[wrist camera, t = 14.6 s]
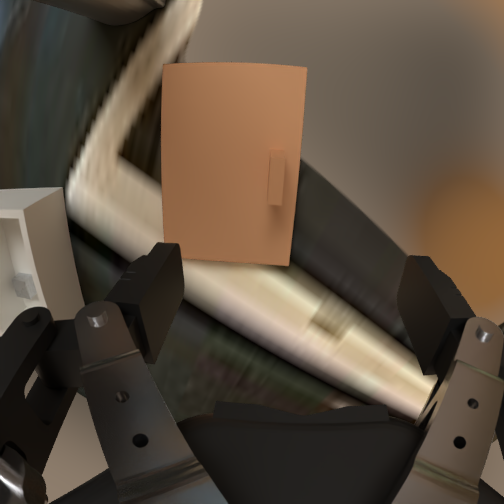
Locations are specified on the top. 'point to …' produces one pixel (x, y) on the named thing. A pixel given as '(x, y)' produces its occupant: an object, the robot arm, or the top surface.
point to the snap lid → (231, 159)
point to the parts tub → (37, 254)
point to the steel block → (24, 285)
